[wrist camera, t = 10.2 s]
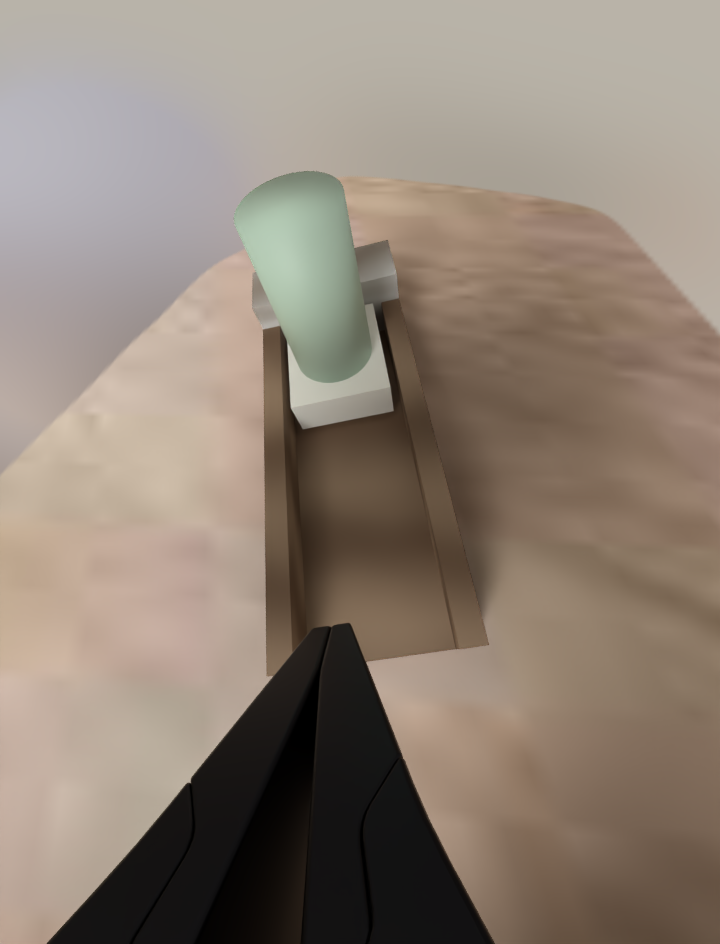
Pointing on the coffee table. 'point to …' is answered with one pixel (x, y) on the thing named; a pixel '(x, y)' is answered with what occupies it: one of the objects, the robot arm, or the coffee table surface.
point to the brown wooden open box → (361, 506)
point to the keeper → (316, 297)
